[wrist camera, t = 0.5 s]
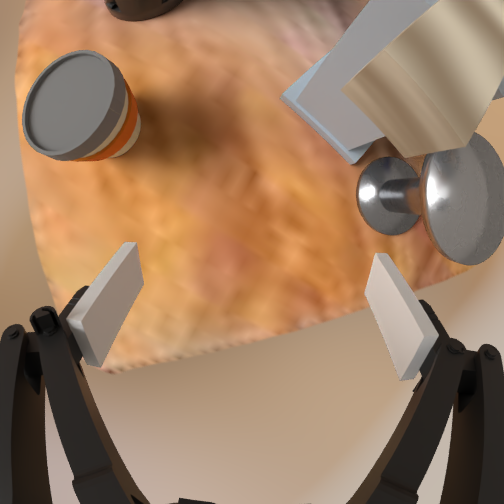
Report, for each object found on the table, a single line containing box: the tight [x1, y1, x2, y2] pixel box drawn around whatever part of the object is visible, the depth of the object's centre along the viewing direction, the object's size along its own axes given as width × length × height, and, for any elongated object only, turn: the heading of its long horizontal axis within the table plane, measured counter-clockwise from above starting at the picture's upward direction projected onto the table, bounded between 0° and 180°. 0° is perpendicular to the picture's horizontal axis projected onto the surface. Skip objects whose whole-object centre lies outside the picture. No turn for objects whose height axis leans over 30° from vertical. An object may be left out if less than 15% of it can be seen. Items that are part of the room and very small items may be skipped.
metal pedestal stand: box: [356, 132, 504, 265], centre depth 33 cm, size 14×14×19 cm
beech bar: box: [341, 0, 504, 158], centre depth 8 cm, size 28×4×4 cm, turn 138°
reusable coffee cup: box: [22, 50, 141, 162], centre depth 30 cm, size 13×13×15 cm
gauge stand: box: [280, 0, 504, 165], centre depth 24 cm, size 13×14×30 cm
